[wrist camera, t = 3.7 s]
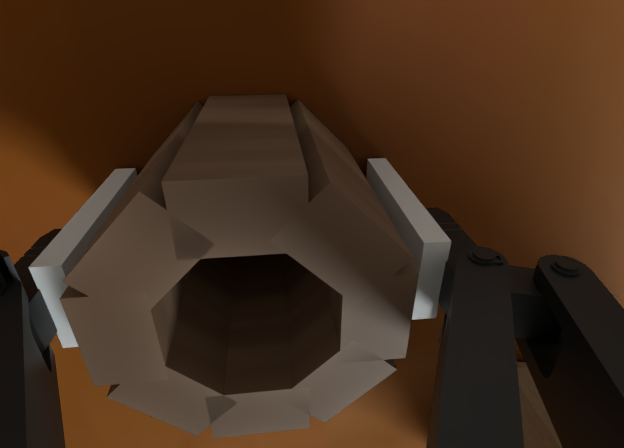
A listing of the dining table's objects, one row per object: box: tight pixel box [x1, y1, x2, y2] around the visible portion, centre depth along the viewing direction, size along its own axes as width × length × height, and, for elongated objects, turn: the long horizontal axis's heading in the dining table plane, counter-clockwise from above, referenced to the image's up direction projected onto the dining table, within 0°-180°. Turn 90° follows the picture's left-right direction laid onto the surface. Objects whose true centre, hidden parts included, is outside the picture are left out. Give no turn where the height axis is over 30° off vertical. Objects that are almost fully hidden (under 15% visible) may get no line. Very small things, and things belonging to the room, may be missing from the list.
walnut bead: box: [60, 94, 419, 438], centre depth 13 cm, size 8×8×8 cm
